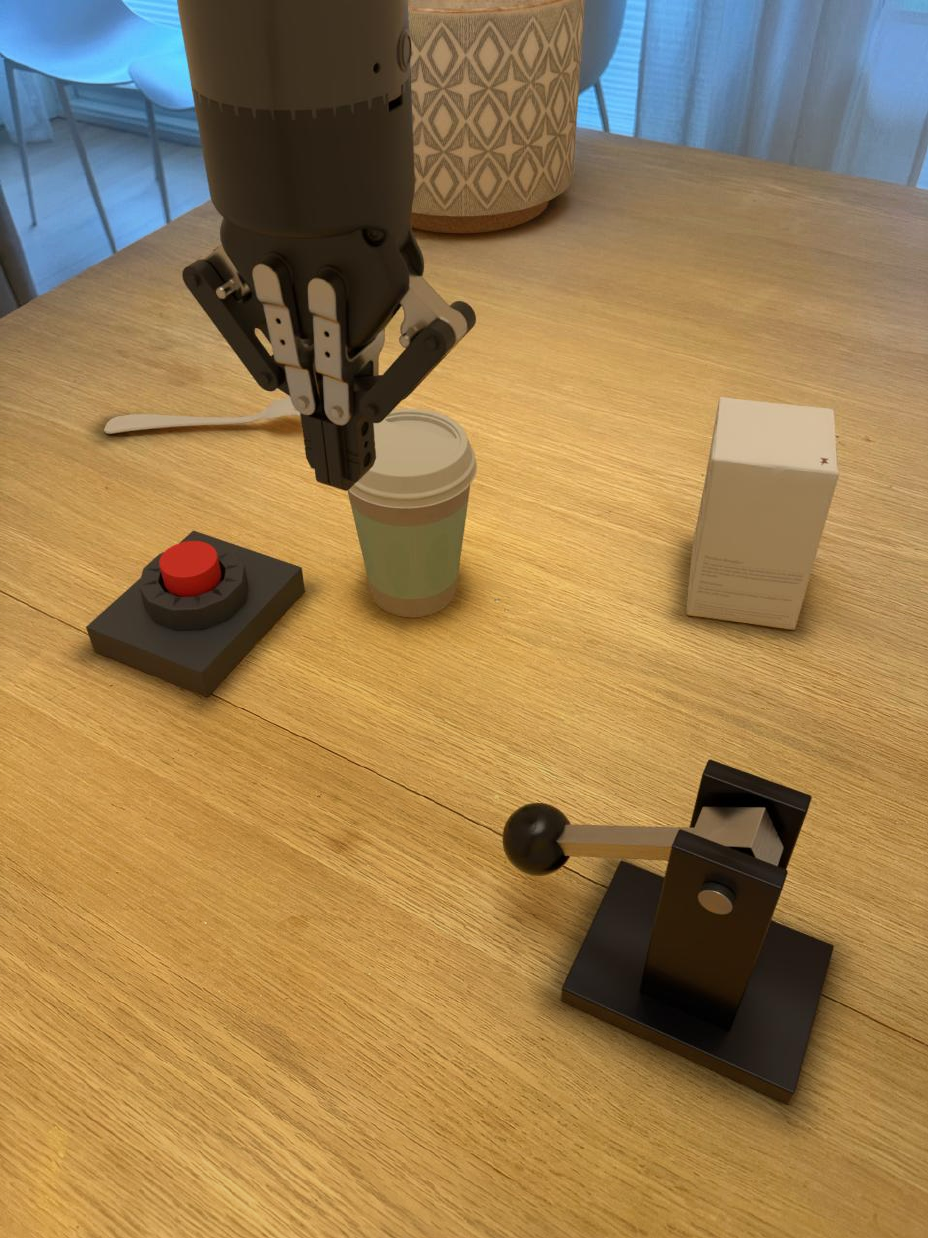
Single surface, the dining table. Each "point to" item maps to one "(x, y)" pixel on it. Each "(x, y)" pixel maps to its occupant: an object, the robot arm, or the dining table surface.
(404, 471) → the coffee cup
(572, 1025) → the dining table surface
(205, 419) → the fork
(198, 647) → the button block
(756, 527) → the white packaging box
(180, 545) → the button
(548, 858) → the lever
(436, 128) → the planter
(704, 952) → the bracket
